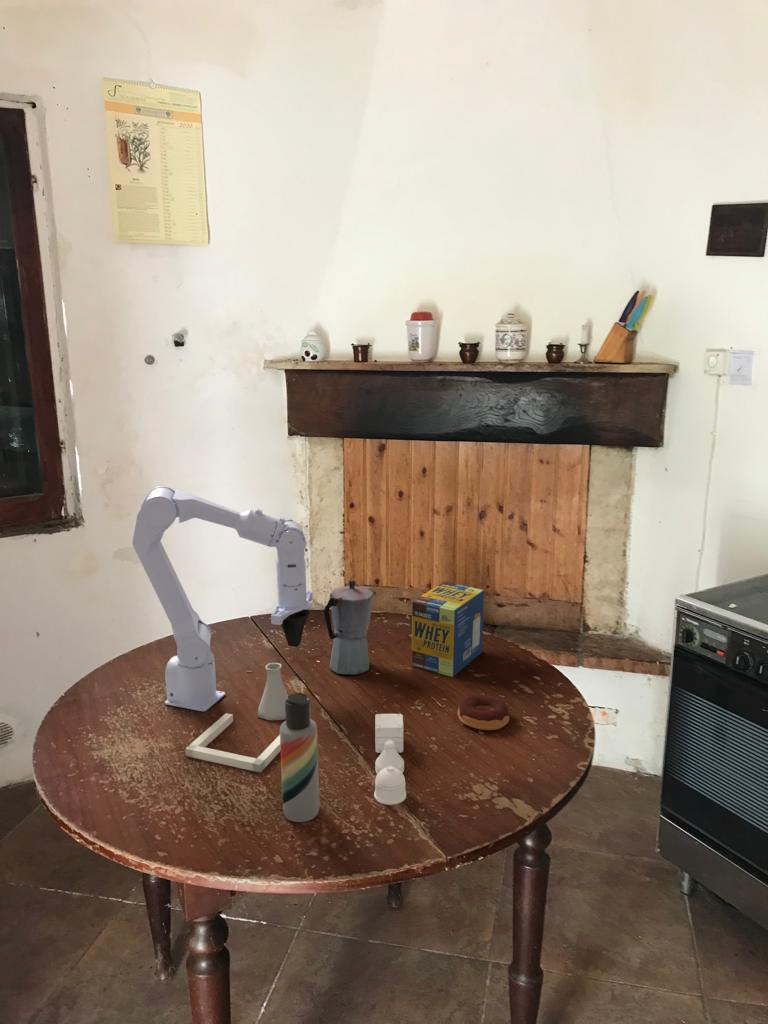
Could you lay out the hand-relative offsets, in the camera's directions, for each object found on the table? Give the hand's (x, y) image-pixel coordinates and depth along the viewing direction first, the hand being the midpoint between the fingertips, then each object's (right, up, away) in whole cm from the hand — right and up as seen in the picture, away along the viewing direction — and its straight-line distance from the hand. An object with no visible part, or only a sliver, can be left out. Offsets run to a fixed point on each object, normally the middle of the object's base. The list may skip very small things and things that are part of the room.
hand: (294, 645), depth 163 cm
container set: (+19, -18, -25) cm, 36 cm away
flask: (-3, -13, -6) cm, 14 cm away
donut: (+37, -13, -9) cm, 41 cm away
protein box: (+33, -6, +17) cm, 38 cm away
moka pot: (+11, -8, +13) cm, 19 cm away
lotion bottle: (+5, -20, -37) cm, 42 cm away
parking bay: (-7, -15, -17) cm, 24 cm away
